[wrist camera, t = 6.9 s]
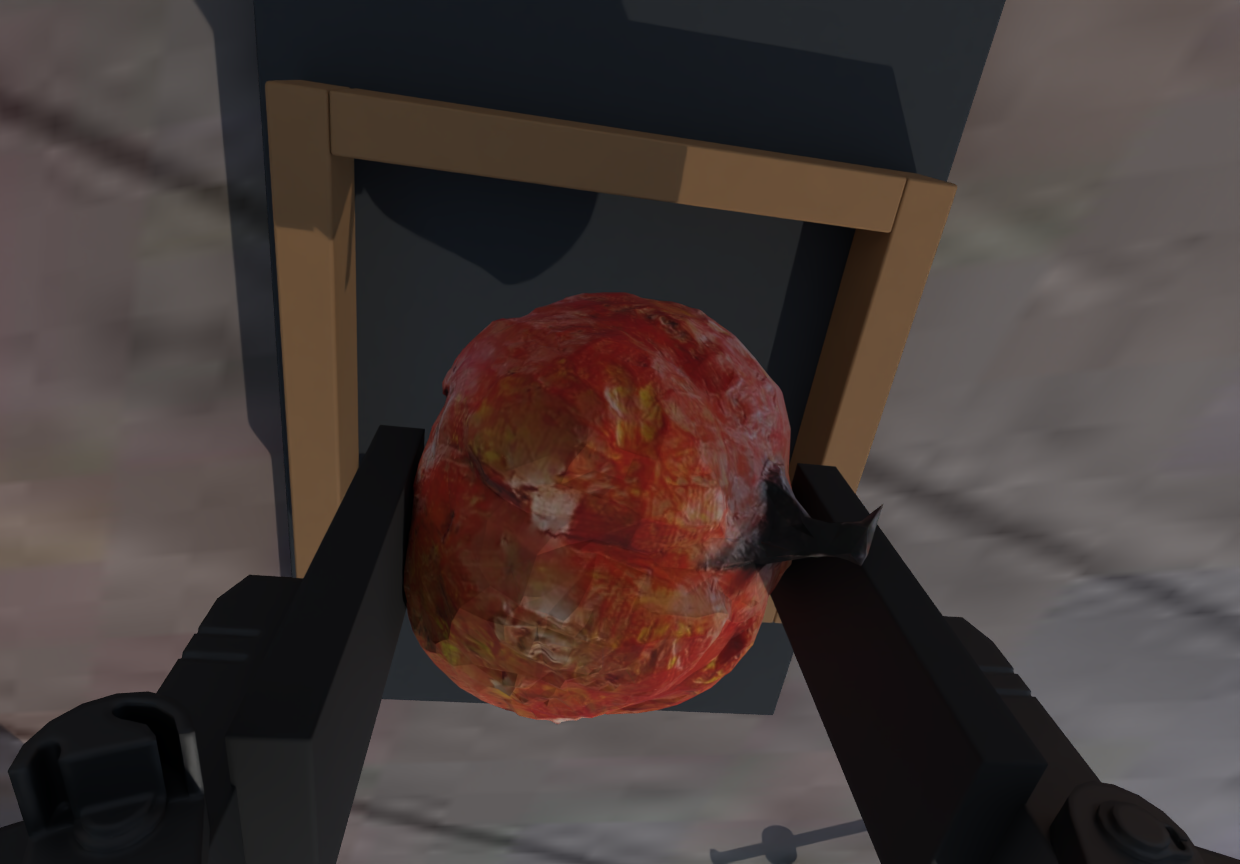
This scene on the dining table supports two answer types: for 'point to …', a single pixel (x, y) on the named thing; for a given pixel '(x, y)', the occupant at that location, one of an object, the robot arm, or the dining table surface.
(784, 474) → the red round lump
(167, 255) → the dining table surface
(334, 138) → the back pad
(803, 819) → the dining table surface
